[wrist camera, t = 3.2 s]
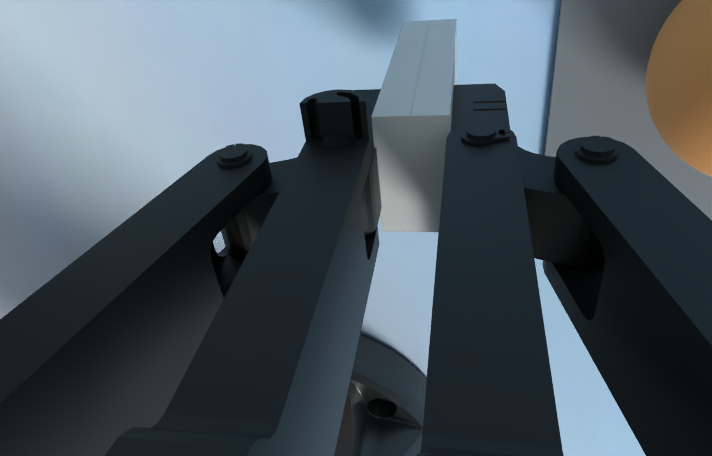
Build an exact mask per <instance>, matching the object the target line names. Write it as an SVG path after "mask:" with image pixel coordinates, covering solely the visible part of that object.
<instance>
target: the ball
mask: <svg viewBox="0 0 712 456" xmlns="http://www.w3.org/2000/svg"><path fill="white" fill-rule="evenodd" d="M646 97H647V103H648V108H649V112H650V115H651V117H652V120H653V123H654V125H655V127H656V129H657V131H658V132H659V134H660V136H661V138H662V139H663V140H664V141H665V143H666V144H667V145H668V146H669V147H670V149H671V150H672V151H673V152H674V153H675V154H676V155H677V156H678V157H680V158H681V159H682V160H683V161H684V162H686V163H687V164H689V165H690V166H692V167H693V168H695V169H697V170H698V171H700V172H701V173H704V174H706V175H708V176H711V177H712V0H681V1H680V3H679V4H678V5H677V6H676V7H675V8H674V10H673V11H672V13H671V14H670V15H669V17H668V18H667V20H666V21H665V23H664V25H663V26H662V28H661V30H660V32H659V33H658V35H657V38H656V40H655V43H654V45H653V47H652V51H651V55H650V58H649V62H648V66H647V73H646Z"/></svg>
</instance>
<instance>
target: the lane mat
mask: <svg viewBox="0 0 712 456" xmlns="http://www.w3.org/2000/svg"><path fill="white" fill-rule="evenodd" d="M680 1H681V0H561V5H560V14H559V24H558V33H557V42H556V51H555V60H554V70H553V79H552V88H551V97H550V106H549V116H548V125H547V134H546V143H545V152H544V155H545V156H552V157H556V152H557V149H558V148H559V146H560V144H562V143H564V142H566V141H568V140H570V139H575V138H579V137H590V136H601V137H603V136H605V137H610V138H612V139H614V140H617V141H620V142H624V143H625V144H627V145H629V146H630V147H632V148H634V149H635V150H636V151H637V152H638V153H639V154H640V155H641V156H642V157H643V158H644V159H646V160H647V161H648V162H649V163H650V164H651V165H652V166H653V167H654V168H655V169H656V170H658V171H659V172H660V173H661V174H662V175H663V176H664V177H665V178H666V179H667V180H668V181H669V182H671V183H672V184H673V185H674V186H675V187H676V188H677V189H678V190H679V191H680V192H681V193H683V194H684V195H685V196H686V197H687V198H688V199H689V200H690V201H691V202H692V203H693V204H694V205H696V206H697V207H698V208H699V209H700V210H701V211H702V212H703V213H704V214H705V215H706V216H708V217H709V218H710V219H711V220H712V177H711V176H708V175H706V174H704V173H701V172H700V171H698V170H697V169H695V168H693V167H692V166H690V165H689V164H687V163H686V162H684V161H683V160H682V159H681V158H680V157H678V156H677V155H676V154H675V153H674V152H673V151H672V150H671V149H670V147H669V146H668V145H667V144H666V143H665V141H664V140H663V139H662V138H661V136H660V134H659V132H658V131H657V129H656V127H655V125H654V123H653V120H652V117H651V115H650V112H649V108H648V103H647V97H646V73H647V66H648V62H649V58H650V55H651V51H652V47H653V45H654V43H655V40H656V38H657V35H658V33H659V32H660V30H661V28H662V26H663V25H664V23H665V21H666V20H667V18H668V17H669V15H670V14H671V13H672V11H673V10H674V8H675V7H676V6H677V5H678V4H679V3H680Z"/></svg>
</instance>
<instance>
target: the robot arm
mask: <svg viewBox="0 0 712 456" xmlns="http://www.w3.org/2000/svg"><path fill="white" fill-rule="evenodd" d="M300 109H301V114H302V120H303V126H304V132H305V138H306V142H305V144H304V146H303V148H302V150H301V152H300V154H299V156H298V157H297V158H293V159H289V160H284V161H278V162H272V163H269V160H268V155H267V151H266V150H265V149H264V148H262V147H261V146H257V145H253V144H236V145H234V144H233V145H228V146H226V147H225V148H223V149H220V150H217V151H215V152H214V153H212V154H210V155H209V156H207V157H206V158H205V159H203V160H202V161H201V162H200V163H198V164H197V165H196V166H195V167H193V168H192V169H191V170H190V171H188V172H187V173H186V174H184V175H183V176H182V177H181V178H179V179H178V180H177V181H176V182H174V183H173V184H172V185H170V186H169V187H168V188H167V189H165V190H164V191H163V192H162V193H160V194H159V195H158V196H156V197H155V198H154V199H153V200H151V201H150V202H149V203H148V204H146V205H145V206H144V207H143V208H141V209H140V210H139V211H137V212H136V213H135V214H134V215H132V216H131V217H130V218H129V219H127V220H126V221H125V222H123V223H122V224H121V225H120V226H118V227H117V228H116V229H115V230H113V231H112V232H111V233H110V234H108V235H107V236H106V237H104V238H103V239H102V240H101V241H99V242H98V243H97V244H96V245H94V246H93V247H92V248H90V249H89V250H88V251H87V252H85V253H84V254H83V255H82V256H80V257H79V258H78V259H76V260H75V261H74V262H73V263H71V264H70V265H69V266H68V267H66V268H65V269H64V270H63V271H61V272H60V273H59V274H57V275H56V276H55V277H54V278H52V279H51V280H50V281H49V282H47V283H46V284H45V285H43V286H42V287H41V288H40V289H38V290H37V291H36V292H35V293H33V294H32V295H31V296H30V297H28V298H27V299H26V300H24V301H23V302H22V303H21V304H19V305H18V306H17V307H16V308H14V309H13V310H12V311H10V312H9V313H8V314H7V315H5V316H4V317H3V318H2V319H0V456H563V451H562V445H561V438H560V431H559V424H558V418H557V411H556V404H555V397H554V390H553V384H552V377H551V370H550V363H549V356H548V350H547V343H546V336H545V329H544V322H543V316H542V309H541V302H540V295H539V288H538V281H537V275H536V268H535V261H534V258H536V259H540V260H543V269H544V273H545V275H546V276H547V278H548V280H549V282H550V284H551V285H552V287H553V289H554V291H555V293H556V294H557V296H558V298H559V300H560V302H561V303H562V305H563V307H564V309H565V311H566V312H567V314H568V316H569V318H570V320H571V321H572V323H573V325H574V327H575V329H576V330H577V332H578V334H579V336H580V338H581V339H582V341H583V343H584V345H585V347H586V348H587V350H588V352H589V354H590V356H591V357H592V359H593V361H594V363H595V365H596V366H597V368H598V370H599V372H600V374H601V375H602V377H603V379H604V381H605V383H606V384H607V386H608V388H609V390H610V392H611V393H612V395H613V397H614V399H615V401H616V402H617V404H618V406H619V408H620V410H621V411H622V413H623V415H624V417H625V419H626V420H627V422H628V424H629V426H630V428H631V429H632V431H633V433H634V435H635V437H636V439H637V440H638V442H639V444H640V446H641V448H642V449H643V451H644V453H645V455H646V456H712V220H711V219H710V218H709V217H708V216H706V215H705V214H704V213H703V212H702V211H701V210H700V209H699V208H698V207H697V206H696V205H694V204H693V203H692V202H691V201H690V200H689V199H688V198H687V197H686V196H685V195H684V194H683V193H681V192H680V191H679V190H678V189H677V188H676V187H675V186H674V185H673V184H672V183H671V182H669V181H668V180H667V179H666V178H665V177H664V176H663V175H662V174H661V173H660V172H659V171H658V170H656V169H655V168H654V167H653V166H652V165H651V164H650V163H649V162H648V161H647V160H646V159H644V158H643V157H642V156H641V155H640V154H639V153H638V152H637V151H636V150H635V149H634V148H632V147H630V146H629V145H627V144H625V143H624V142H620V141H617V140H614V139H612V138H610V137H605V136H603V137H601V136H590V137H579V138H575V139H570V140H568V141H566V142H564V143H562V144H560V146H559V148H558V149H557V152H556V157H552V156H545V155H540V154H535V153H531V152H529V151H526V150H524V149H522V148H520V147H518V145H517V138H516V136H515V134H514V133H513V131H511V130H510V125H509V118H508V111H507V103H506V96H505V91H504V90H502V89H501V88H500V87H499V86H497V85H496V84H471V85H456V19H448V20H431V21H414V22H404V23H403V26H402V29H401V32H400V35H399V38H398V41H397V44H396V47H395V50H394V53H393V55H392V58H391V61H390V64H389V67H388V70H387V73H386V76H385V79H384V82H383V85H382V87H381V89H375V90H353V91H352V90H330V91H324V92H320V93H316V94H313V95H311V96H309V97H307V98H305V99H304V100H303V101H302V102H301V103H300ZM379 216H380V217H381V228H382V231H409V232H439V235H438V247H437V259H436V272H435V284H434V296H433V309H432V321H431V333H430V345H429V358H428V370H427V379H426V378H425V377H424V376H423V375H422V374H421V373H420V372H419V371H418V370H417V369H416V368H415V367H414V366H413V365H411V364H410V363H409V362H408V361H406V360H405V359H404V358H402V357H401V356H400V355H398V354H397V353H395V352H393V351H392V350H390V349H389V348H387V347H385V346H383V345H381V344H379V343H378V342H375V341H373V340H371V339H369V338H367V337H364V336H362V335H360V332H361V327H362V322H363V318H364V313H365V308H366V304H367V299H368V294H369V290H370V285H371V280H372V276H373V271H374V266H375V262H376V257H377V252H378V248H379V237H378V227H377V225H378V221H379ZM220 231H221V233H222V236H223V239H224V243H225V246H226V247H225V248H224V249H223V250H222V251H221V252H219V253H218V254H217V252H216V251H215V248H214V245H213V240H214V239H215V237H216V236H217V234H218V233H219V232H220Z"/></svg>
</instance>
